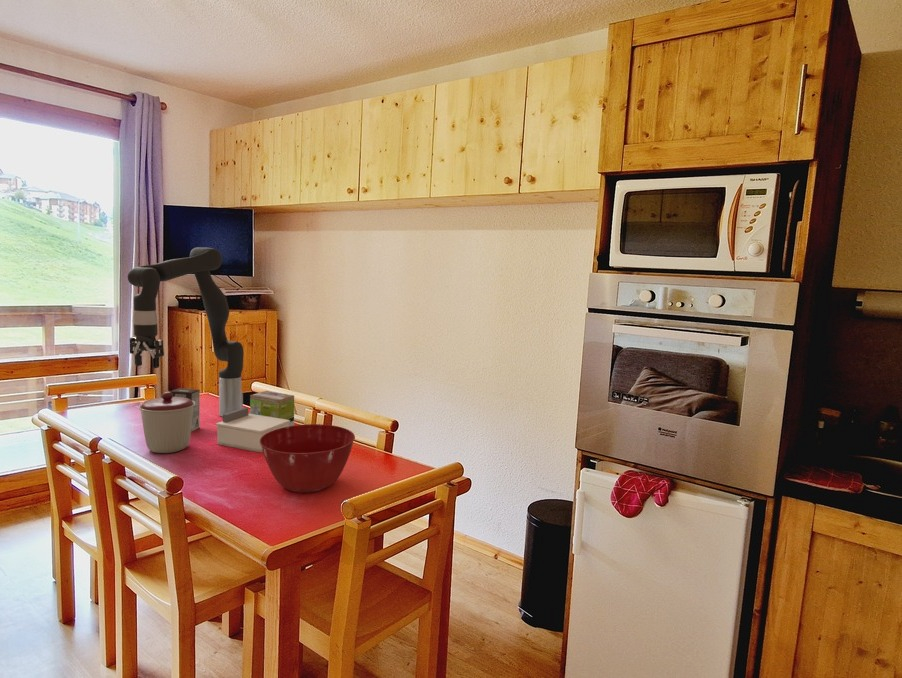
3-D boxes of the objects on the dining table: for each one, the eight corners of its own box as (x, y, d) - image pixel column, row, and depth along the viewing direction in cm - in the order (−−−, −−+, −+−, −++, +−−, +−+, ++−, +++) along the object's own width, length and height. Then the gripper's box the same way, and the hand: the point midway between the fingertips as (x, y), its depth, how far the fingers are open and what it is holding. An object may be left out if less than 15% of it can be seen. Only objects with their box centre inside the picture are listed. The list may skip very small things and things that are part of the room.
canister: (206, 447, 201) (206, 391, 198) (160, 461, 185) (159, 400, 182) (175, 438, 209) (174, 384, 206) (128, 450, 193) (126, 392, 190)
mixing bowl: (294, 512, 151) (294, 459, 149) (241, 483, 169) (241, 435, 167) (372, 485, 172) (373, 438, 170) (317, 462, 190) (318, 419, 188)
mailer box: (217, 444, 204) (217, 426, 203) (247, 433, 219) (247, 416, 218) (260, 452, 197) (260, 433, 196) (288, 440, 212) (288, 422, 211)
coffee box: (170, 430, 218) (169, 391, 216) (179, 425, 225) (178, 387, 223) (191, 431, 218) (191, 392, 216) (200, 427, 224) (200, 389, 222)
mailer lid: (215, 425, 203) (215, 415, 203) (247, 415, 219) (247, 405, 218) (261, 433, 196) (261, 423, 196) (290, 422, 211) (290, 412, 211)
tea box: (249, 429, 224) (249, 394, 222) (266, 423, 233) (266, 389, 231) (278, 435, 218) (278, 399, 216) (294, 429, 228) (295, 394, 226)
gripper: (168, 323, 199) (170, 367, 201) (140, 320, 204) (141, 363, 206) (151, 325, 192) (152, 370, 194) (121, 322, 197) (123, 366, 199)
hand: (147, 366), depth 200 cm, fingers open, 8 cm apart
